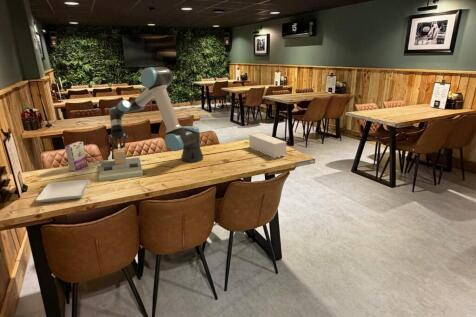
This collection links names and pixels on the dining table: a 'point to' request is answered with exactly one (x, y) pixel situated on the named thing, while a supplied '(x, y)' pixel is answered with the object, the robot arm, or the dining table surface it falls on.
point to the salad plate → (63, 191)
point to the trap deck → (120, 169)
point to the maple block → (119, 156)
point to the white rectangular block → (267, 145)
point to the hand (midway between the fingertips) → (120, 156)
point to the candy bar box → (76, 156)
